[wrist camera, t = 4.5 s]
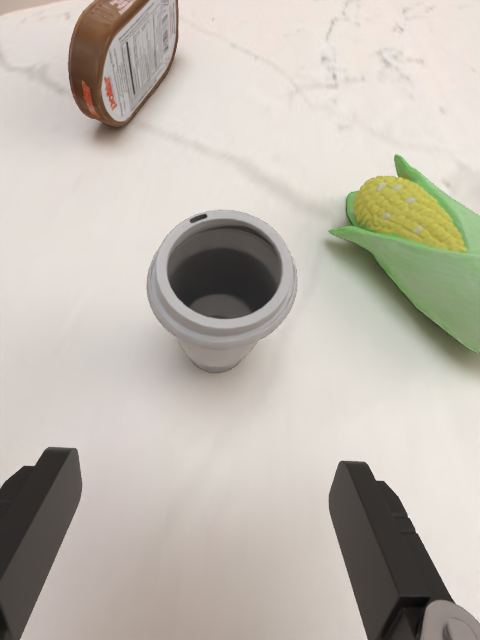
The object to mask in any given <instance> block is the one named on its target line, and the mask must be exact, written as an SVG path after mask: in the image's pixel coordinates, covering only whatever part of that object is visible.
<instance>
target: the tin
mask: <svg viewBox="0 0 480 640" xmlns="http://www.w3.org/2000/svg"><path fill="white" fill-rule="evenodd" d="M177 42H178V0H95V1H94V2H92V3H91V4H90V5H89V6H88V7H87V8H86V9H85V10H84V11H83V12H82V14H81V15H80V17H79V19H78V21H77V23H76V25H75V28H74V31H73V34H72V38H71V43H70V48H69V61H68V71H69V80H70V86H71V91H72V93H73V97H74V99H75V102H76V104H77V105H78V107H79V109H80V110H81V111H82V112H83V113H84V114H85V115H86V116H88V117H89V118H92V119H97V120H99V121H101V122H103V123H105V124H108V125H111V126H115V127H119V126H123V125H125V124H126V123H128V122H129V121H130V120H131V119H132V117H133V116H134V115H135V114H136V112H137V111H138V110H139V109H140V108H141V106H142V105H143V104H144V103H145V101H146V100H147V99H148V98H149V96H150V95H151V94H152V93H153V91H154V90H155V89H156V88H157V86H158V85H159V84H160V83H161V81H162V80H163V79H164V78H165V76H166V75H167V73H168V71H169V69H170V67H171V64H172V62H173V59H174V56H175V52H176V48H177Z"/></svg>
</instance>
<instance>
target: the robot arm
mask: <svg viewBox="0 0 480 640" xmlns="http://www.w3.org/2000/svg"><path fill="white" fill-rule="evenodd" d="M81 492H82V478H81V471H80V464H79V456H78V451H77V449H76V448H61V447H48V448H47V449H46V450H45V451H44V452H43V454H42V455H41V457H40V458H39V460H38V462H37V463H36V465H35V466H23V467H22V468H21V469H20V470H19V471H17V472H16V473H15V474H14V475H12V476H11V477H10V478H9V479H8V480H6V481H5V483H4V484H3V486H2V487H1V488H0V640H20V638H21V636H22V633H23V631H24V629H25V626H26V624H27V622H28V619H29V617H30V615H31V613H32V610H33V608H34V606H35V603H36V601H37V599H38V596H39V594H40V592H41V590H42V587H43V585H44V583H45V580H46V578H47V576H48V573H49V571H50V569H51V567H52V564H53V562H54V560H55V557H56V555H57V553H58V550H59V548H60V546H61V544H62V541H63V539H64V537H65V534H66V532H67V530H68V527H69V525H70V523H71V521H72V518H73V516H74V514H75V511H76V509H77V507H78V504H79V501H80V497H81ZM329 511H330V515H331V519H332V522H333V525H334V529H335V532H336V535H337V539H338V542H339V545H340V548H341V552H342V555H343V558H344V562H345V565H346V568H347V572H348V575H349V578H350V582H351V585H352V588H353V592H354V595H355V598H356V601H357V605H358V608H359V611H360V615H361V618H362V621H363V625H364V628H365V631H366V635H367V638H368V640H480V623H479V622H478V621H477V620H476V619H475V618H474V617H473V616H472V615H471V614H470V613H469V612H468V611H466V610H465V609H463V608H462V607H460V606H459V605H457V604H456V603H455V602H454V601H453V599H452V598H451V596H450V594H449V593H448V591H447V589H446V587H445V585H444V583H443V581H442V579H441V577H440V575H439V573H438V572H437V570H436V568H435V566H434V564H433V562H432V560H431V558H430V556H429V554H428V553H427V551H426V549H425V547H424V545H423V543H422V541H421V539H420V537H419V535H418V533H416V532H415V528H414V526H413V524H412V522H411V520H410V518H408V516H407V515H408V514H407V512H406V511H405V509H404V507H403V505H402V503H401V501H400V499H399V497H398V496H397V495H396V494H395V493H394V492H393V490H392V489H391V488H390V487H389V486H388V485H387V484H386V483H385V482H384V481H376V480H375V478H374V476H373V474H372V472H371V470H370V468H369V466H368V464H367V463H366V462H358V461H340V462H339V464H338V467H337V470H336V473H335V477H334V480H333V483H332V486H331V489H330V493H329Z"/></svg>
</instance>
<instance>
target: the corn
mask: <svg viewBox="0 0 480 640" xmlns="http://www.w3.org/2000/svg"><path fill="white" fill-rule="evenodd" d="M394 161H395V166H396V171H397V175H398V178H396V177H395V176H377V177H376V178H371V179H370V180H367V181H366V182H365V183H364V185H363V186H361V188H360V190H359V191H356V192H351V193H349V194H348V196H347V213H348V216H349V219H350V220H351V222H352V224H353V226H345V227H341V228H337V229H333V230H329V231H328V232H329V233H331V234H333V235H334V236H336V237H339V238H341V239H345V240H349V241H352V242H354V243H356V244H358V245H359V246H361V247H363V248H365V249H366V250H368V251H370V252H371V253H372V254H373V256H374V258H375V259H376V261H377V262H378V264H379V265H380V266H381V267H382V268H383V269H384V271H385V272H386V273H387V274H388V276H389V277H390V278H391V279H392V280H393V281H394V282H395V284H396V285H397V286H398V287H399V289H400V290H401V291H402V292H403V293H404V294H405V295H406V296H407V297H408V298H409V300H410V301H411V302H412V303H413V304H414V305H415V307H416V308H418V309H419V310H420V311H421V312H422V313H424V314H425V315H426V316H427V317H429V318H430V319H431V320H432V321H434V322H435V323H436V324H437V325H439V326H440V327H441V328H442V329H444V330H445V331H446V332H447V333H449V334H450V335H451V336H452V337H454V338H455V339H456V340H458V341H459V342H460V343H462V344H463V345H464V346H465V347H467V348H468V349H470V350H472V351H474V352H476V353H478V354H480V216H479V215H478V214H476V213H474V212H473V211H471V210H470V209H468V208H466V207H465V206H463V205H462V204H460V203H459V202H457V201H456V200H454V199H452V198H451V197H450V196H448V195H447V194H446V193H444V192H443V191H442V190H440V189H439V188H438V187H436V186H435V185H434V184H433V183H432V182H430V181H429V180H428V179H427V178H426V177H424V176H423V175H422V174H421V173H420V172H418V171H417V170H416V169H414V168H413V167H411V166H410V165H409V164H408V163H407V162H406V161H405V160H404V159H403V158H402V157H401V156H399V155H395V156H394Z"/></svg>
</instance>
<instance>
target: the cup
mask: <svg viewBox="0 0 480 640" xmlns="http://www.w3.org/2000/svg"><path fill="white" fill-rule="evenodd" d="M296 291H297V270H296V267H295V263H294V260H293V258H292V256H291V254H290V252H289V250H288V248H287V246H286V244H285V242H284V240H283V239H282V238H281V236H280V235H279V234H278V233H277V232H276V231H275V230H274V229H273V228H272V227H271V226H269V225H268V224H267V223H265V222H264V221H262V220H260V219H259V218H257V217H254V216H252V215H249V214H247V213H243V212H238V211H233V210H215V211H207V212H204V213H200V214H196V215H194V216H192V217H190V218H188V219H186V220H184V221H183V222H181V223H180V224H179V225H177V226H176V227H175V228H174V229H173V230H172V231H171V232H170V233H169V234H168V235H167V236H166V238H165V239H164V241H163V243H162V244H161V246H160V247H159V249H158V250H157V252H156V253H155V255H154V257H153V259H152V262H151V265H150V267H149V271H148V276H147V295H148V300H149V303H150V306H151V309H152V311H153V313H154V314H155V316H156V318H157V319H158V320H159V322H160V323H161V324H162V325H163V326H164V327H165V328H166V329H167V330H168V331H169V332H170V333H171V334H173V335H174V336H175V337H176V338H177V340H178V342H179V344H180V345H181V347H182V349H183V350H184V352H185V353H186V354H187V355H188V356H189V357H190V359H191V360H192V362H193V363H194V364H195V365H196V366H197V367H199V368H200V369H202V370H205V371H207V372H212V373H220V372H225V371H228V370H230V369H232V368H234V367H235V366H236V365H237V364H238V363H239V362H240V361H241V360H242V359H243V358H244V357H245V356H246V355H247V354H249V352H250V351H251V350H252V348H253V347H254V346H255V345H256V343H257V342H258V341H259V340H260V339H262V338H264V337H266V336H267V335H269V334H270V333H271V332H273V331H274V330H275V329H276V328H277V327H278V326H279V325H280V324H281V323H282V322H283V321H284V319H285V318H286V316H287V315H288V313H289V312H290V310H291V308H292V306H293V303H294V300H295V296H296Z"/></svg>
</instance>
